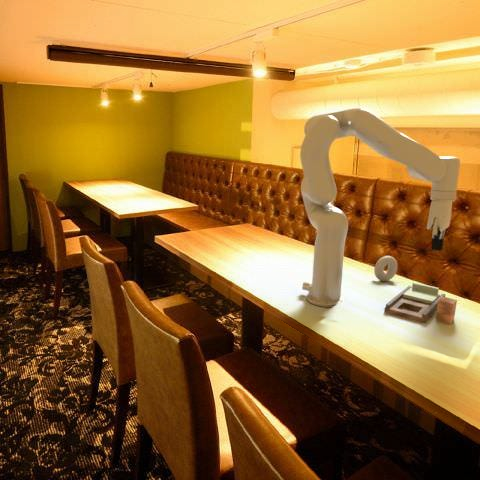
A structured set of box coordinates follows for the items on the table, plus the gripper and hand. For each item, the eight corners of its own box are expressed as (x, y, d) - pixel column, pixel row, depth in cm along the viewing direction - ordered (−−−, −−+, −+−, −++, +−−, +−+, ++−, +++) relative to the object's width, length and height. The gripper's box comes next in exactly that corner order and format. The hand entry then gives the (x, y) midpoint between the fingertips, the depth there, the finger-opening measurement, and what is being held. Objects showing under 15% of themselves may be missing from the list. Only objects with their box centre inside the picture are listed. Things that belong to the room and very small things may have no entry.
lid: (402, 297, 142) (403, 288, 141) (410, 290, 148) (412, 281, 147) (432, 304, 136) (433, 295, 136) (439, 296, 142) (440, 288, 142)
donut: (377, 284, 162) (379, 258, 160) (371, 281, 166) (373, 255, 163) (398, 280, 166) (400, 255, 164) (391, 278, 169) (394, 253, 167)
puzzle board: (383, 316, 134) (385, 304, 133) (407, 296, 151) (409, 285, 150) (423, 328, 127) (425, 315, 126) (444, 305, 144) (446, 294, 143)
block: (434, 325, 129) (438, 300, 127) (439, 321, 132) (442, 296, 130) (449, 329, 127) (453, 303, 125) (453, 325, 130) (457, 299, 128)
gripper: (437, 191, 149) (431, 243, 154) (424, 197, 138) (418, 252, 143) (461, 193, 145) (454, 246, 150) (449, 199, 134) (442, 256, 138)
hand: (436, 249), depth 146 cm, fingers closed
